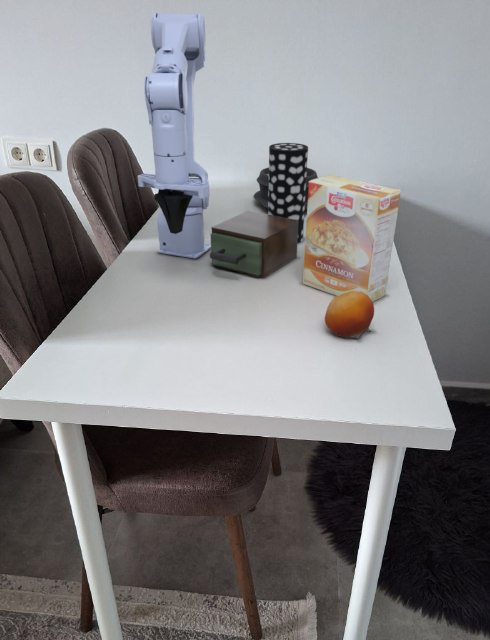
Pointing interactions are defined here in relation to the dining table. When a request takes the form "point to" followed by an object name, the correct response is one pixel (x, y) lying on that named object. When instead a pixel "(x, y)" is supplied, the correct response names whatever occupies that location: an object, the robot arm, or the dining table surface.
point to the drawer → (236, 253)
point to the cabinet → (264, 237)
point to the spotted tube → (288, 182)
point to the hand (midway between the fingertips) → (176, 232)
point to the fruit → (350, 314)
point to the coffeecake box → (349, 236)
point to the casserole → (264, 180)
